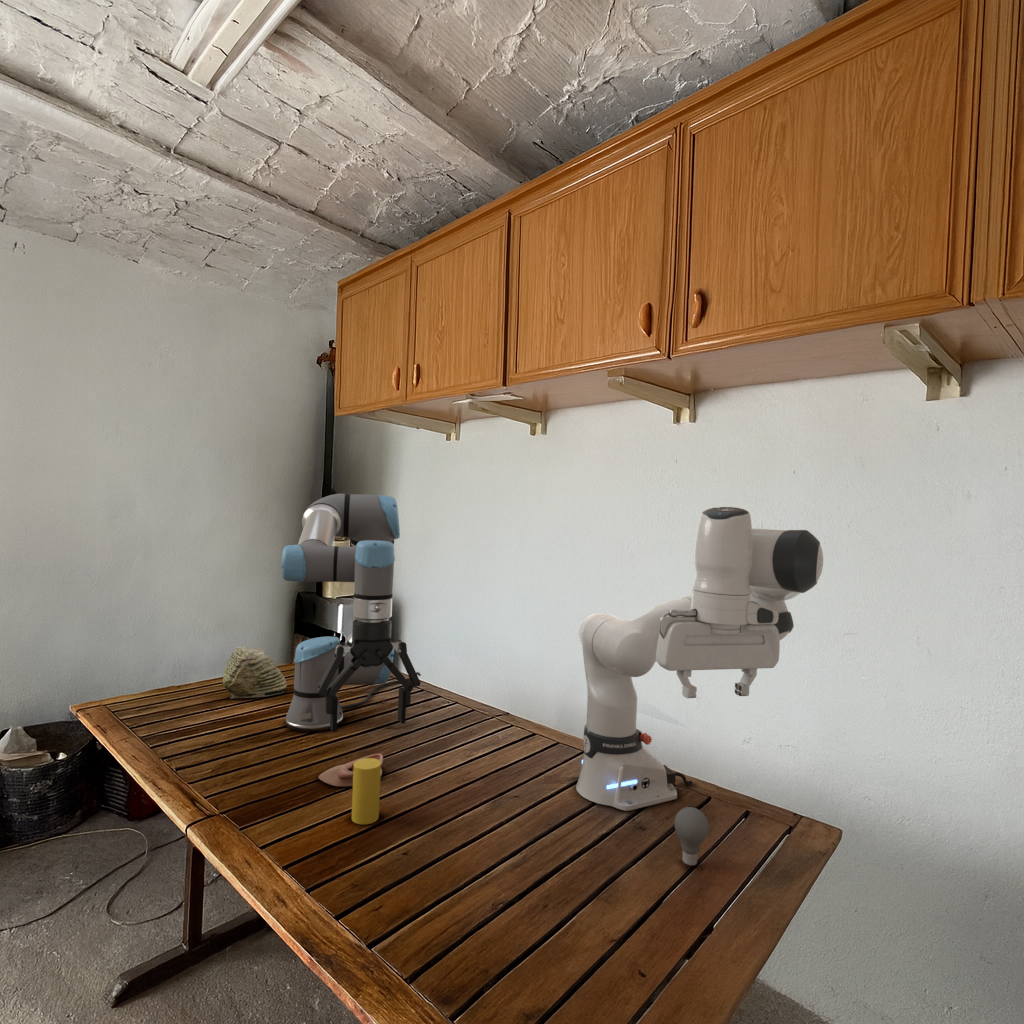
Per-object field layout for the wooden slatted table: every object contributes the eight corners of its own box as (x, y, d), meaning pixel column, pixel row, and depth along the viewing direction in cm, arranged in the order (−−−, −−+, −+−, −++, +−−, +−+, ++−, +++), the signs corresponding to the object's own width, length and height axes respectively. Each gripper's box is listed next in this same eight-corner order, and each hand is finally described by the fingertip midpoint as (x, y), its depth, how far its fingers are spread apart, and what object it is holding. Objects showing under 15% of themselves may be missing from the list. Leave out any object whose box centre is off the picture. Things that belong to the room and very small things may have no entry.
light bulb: (667, 854, 117) (670, 800, 117) (699, 854, 118) (702, 801, 117) (679, 873, 111) (681, 817, 111) (712, 873, 112) (715, 817, 111)
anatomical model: (312, 765, 139) (336, 745, 151) (311, 783, 139) (336, 762, 151) (368, 773, 137) (389, 752, 148) (367, 791, 137) (388, 769, 148)
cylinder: (346, 821, 124) (348, 766, 124) (360, 809, 129) (362, 756, 129) (369, 826, 123) (372, 771, 122) (383, 814, 128) (385, 760, 127)
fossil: (218, 695, 195) (220, 647, 195) (278, 685, 208) (279, 640, 207) (228, 703, 189) (230, 653, 188) (289, 692, 201) (290, 645, 201)
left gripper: (310, 625, 116) (305, 740, 117) (438, 619, 128) (434, 724, 128) (303, 618, 123) (299, 726, 123) (426, 612, 134) (422, 712, 135)
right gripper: (670, 613, 95) (666, 705, 95) (787, 613, 100) (783, 700, 100) (651, 605, 101) (646, 692, 101) (762, 606, 106) (758, 688, 106)
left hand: (368, 725), depth 126 cm, fingers open, 13 cm apart
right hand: (715, 696), depth 101 cm, fingers open, 8 cm apart
